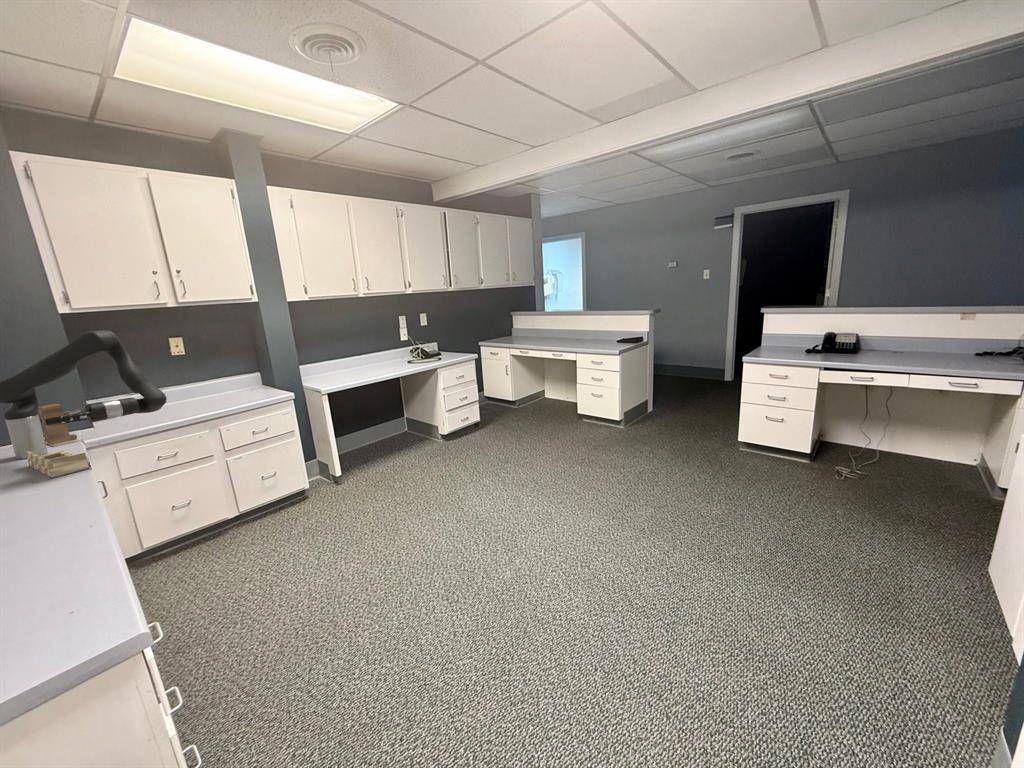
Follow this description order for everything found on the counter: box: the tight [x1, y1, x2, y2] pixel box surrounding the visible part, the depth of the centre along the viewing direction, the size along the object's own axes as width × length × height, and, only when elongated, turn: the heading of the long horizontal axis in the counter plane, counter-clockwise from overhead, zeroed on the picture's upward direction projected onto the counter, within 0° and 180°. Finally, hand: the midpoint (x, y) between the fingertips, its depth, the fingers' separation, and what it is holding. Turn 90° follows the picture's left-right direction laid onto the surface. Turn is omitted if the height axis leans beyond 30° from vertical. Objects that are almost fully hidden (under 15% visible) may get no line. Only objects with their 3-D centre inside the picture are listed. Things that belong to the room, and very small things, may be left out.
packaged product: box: [43, 432, 84, 448], centre depth 200 cm, size 18×5×10 cm
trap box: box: [26, 450, 90, 479], centre depth 163 cm, size 28×10×6 cm, turn 60°
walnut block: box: [38, 403, 71, 445], centre depth 156 cm, size 5×5×14 cm
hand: (43, 421), depth 153 cm, fingers closed on walnut block, 5 cm apart
